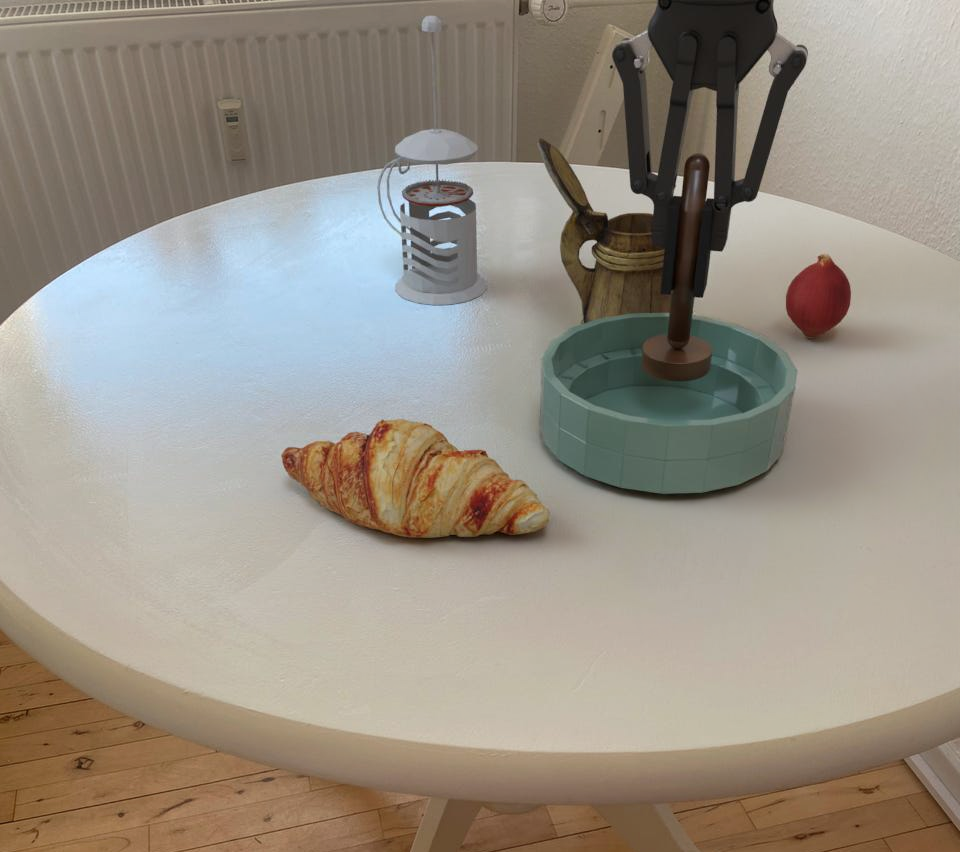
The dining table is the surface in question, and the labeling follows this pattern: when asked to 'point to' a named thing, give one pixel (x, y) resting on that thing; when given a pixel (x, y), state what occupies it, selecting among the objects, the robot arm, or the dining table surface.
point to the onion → (818, 297)
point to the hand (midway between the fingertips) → (683, 288)
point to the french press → (436, 216)
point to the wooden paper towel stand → (683, 290)
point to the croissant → (414, 484)
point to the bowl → (664, 406)
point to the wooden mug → (607, 251)
